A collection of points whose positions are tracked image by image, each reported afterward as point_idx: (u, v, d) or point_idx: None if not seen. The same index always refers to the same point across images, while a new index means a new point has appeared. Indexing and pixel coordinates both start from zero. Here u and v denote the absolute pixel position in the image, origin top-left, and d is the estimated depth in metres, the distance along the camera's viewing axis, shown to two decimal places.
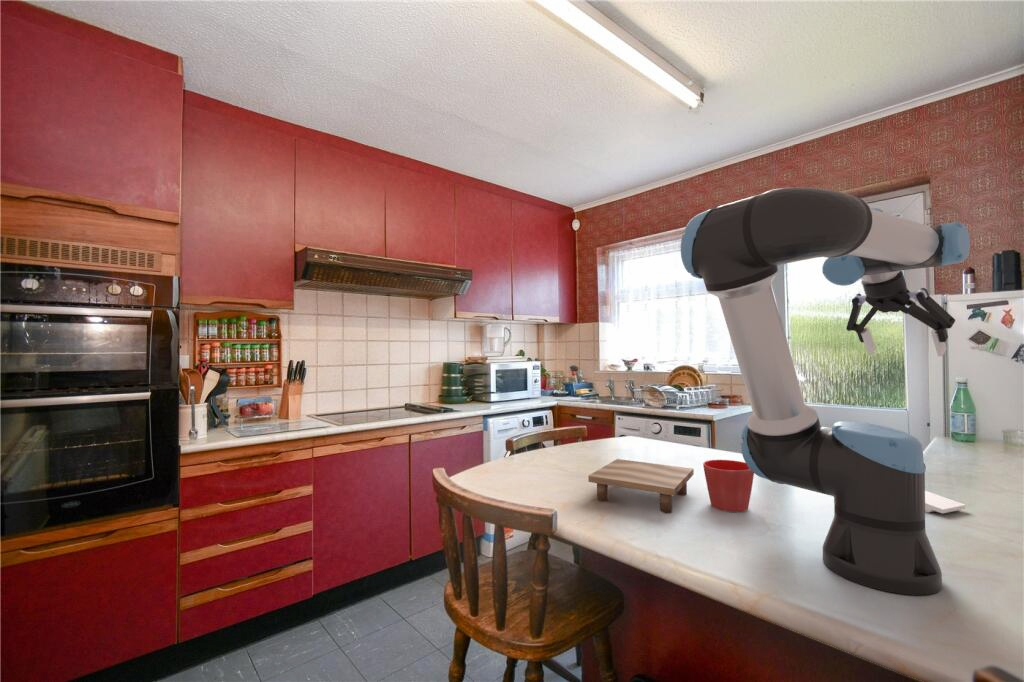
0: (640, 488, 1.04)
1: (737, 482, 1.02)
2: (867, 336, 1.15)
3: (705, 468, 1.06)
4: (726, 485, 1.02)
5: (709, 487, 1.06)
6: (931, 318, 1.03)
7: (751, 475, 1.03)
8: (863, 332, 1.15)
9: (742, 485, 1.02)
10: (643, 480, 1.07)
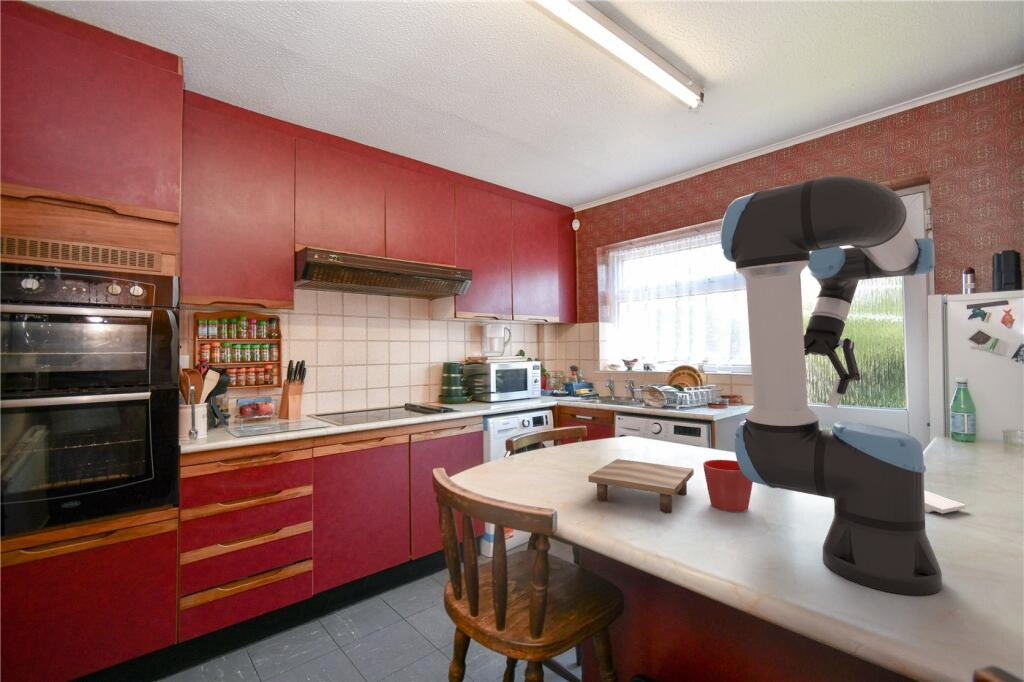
0: (640, 488, 1.04)
1: (737, 482, 1.02)
2: None
3: (705, 468, 1.06)
4: (726, 485, 1.02)
5: (709, 487, 1.06)
6: (843, 368, 1.08)
7: None
8: None
9: (742, 485, 1.02)
10: (643, 480, 1.07)
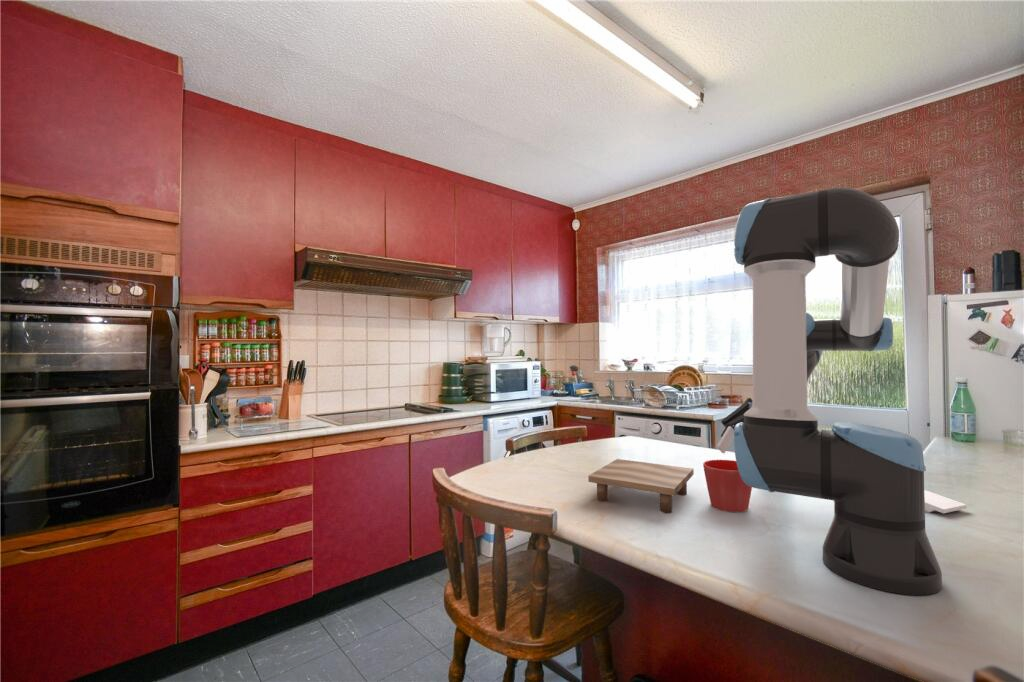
0: (640, 488, 1.04)
1: (737, 482, 1.02)
2: (730, 433, 1.18)
3: (705, 468, 1.06)
4: (726, 485, 1.02)
5: (709, 487, 1.06)
6: None
7: None
8: None
9: (742, 485, 1.02)
10: (643, 480, 1.07)
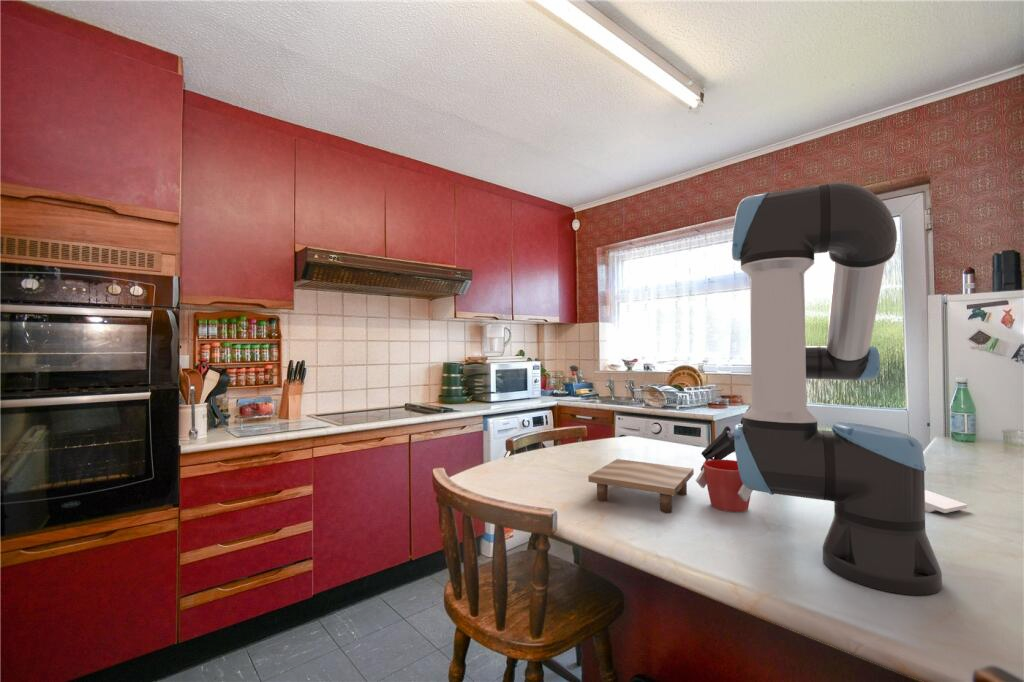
0: (640, 488, 1.04)
1: (737, 482, 1.02)
2: None
3: (705, 468, 1.06)
4: (726, 485, 1.02)
5: (709, 487, 1.06)
6: None
7: None
8: None
9: None
10: (643, 480, 1.07)
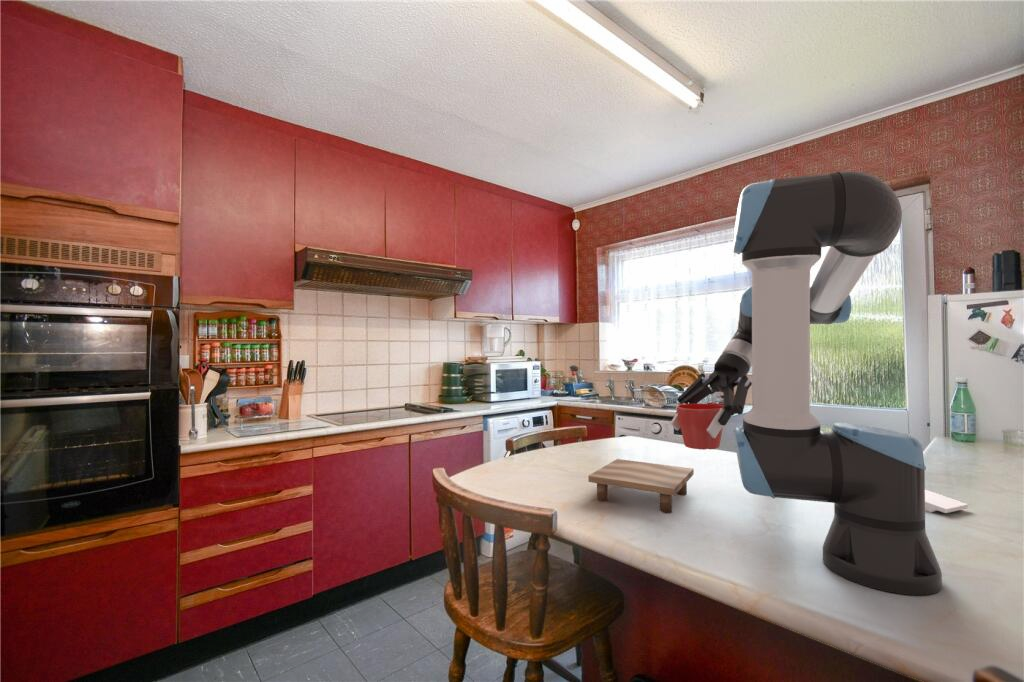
0: (640, 488, 1.04)
1: (707, 420, 1.06)
2: None
3: (678, 409, 1.11)
4: (696, 424, 1.07)
5: (682, 427, 1.11)
6: (731, 402, 1.07)
7: None
8: None
9: None
10: (643, 480, 1.07)
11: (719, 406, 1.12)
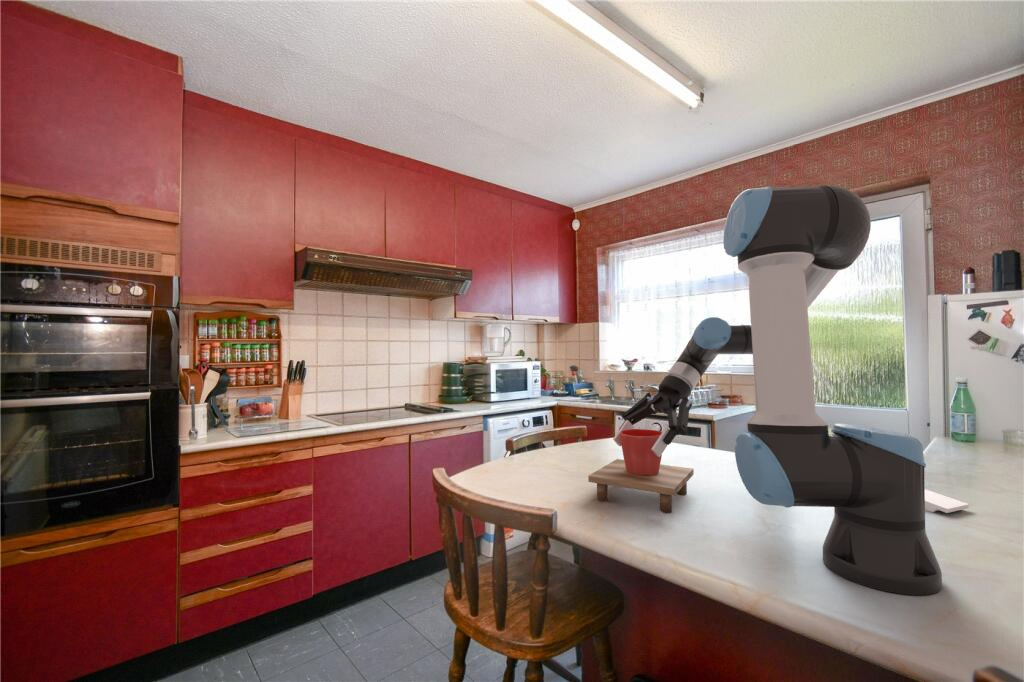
0: (640, 488, 1.04)
1: (646, 447, 1.10)
2: (627, 427, 1.21)
3: (620, 435, 1.15)
4: (636, 450, 1.10)
5: (623, 453, 1.14)
6: (675, 422, 1.10)
7: None
8: None
9: (650, 450, 1.10)
10: (643, 480, 1.07)
11: (660, 433, 1.15)
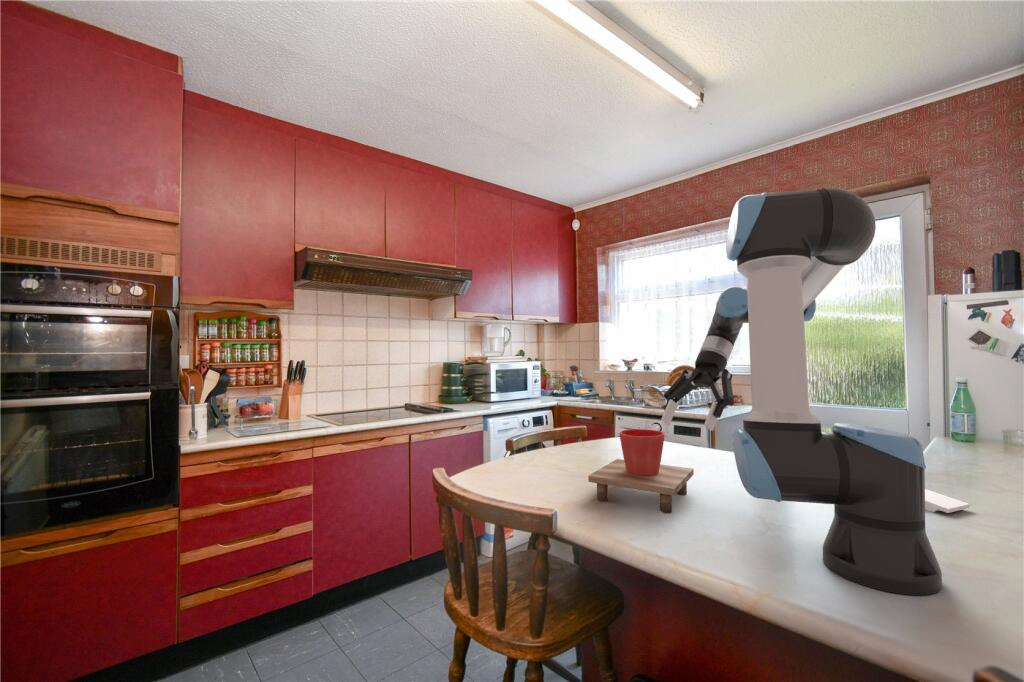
0: (640, 488, 1.04)
1: (645, 447, 1.10)
2: (671, 406, 1.26)
3: (620, 435, 1.15)
4: (636, 450, 1.10)
5: (623, 453, 1.14)
6: (720, 395, 1.16)
7: (659, 441, 1.11)
8: None
9: (650, 450, 1.10)
10: (643, 480, 1.07)
11: (660, 433, 1.15)
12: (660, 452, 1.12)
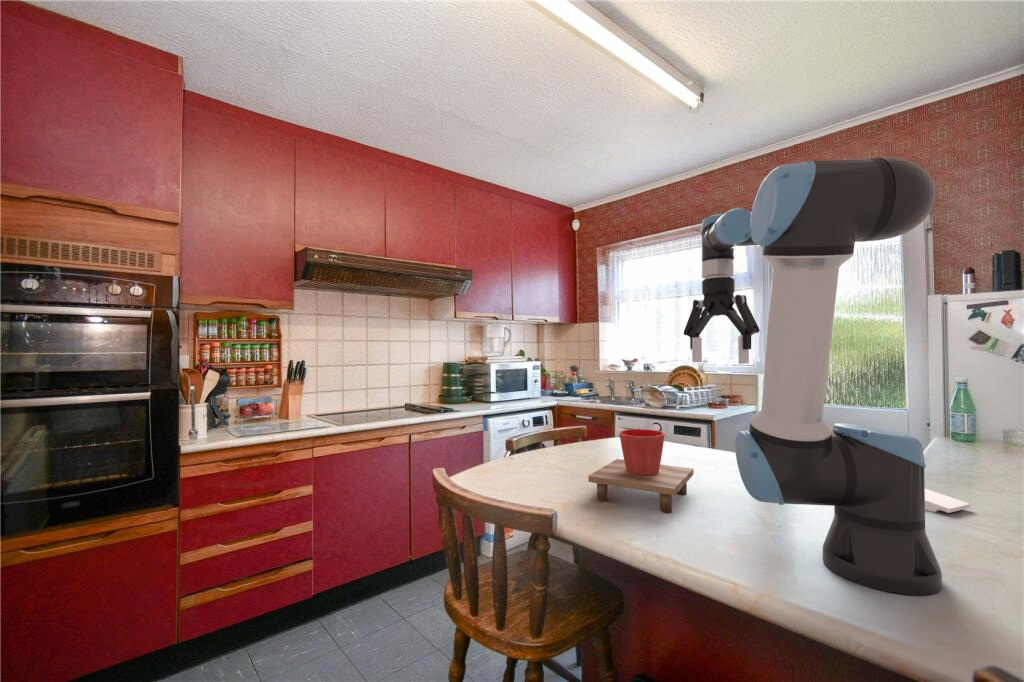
0: (640, 488, 1.04)
1: (645, 447, 1.10)
2: (697, 343, 1.22)
3: (620, 435, 1.15)
4: (636, 450, 1.10)
5: (623, 453, 1.14)
6: (742, 324, 1.10)
7: (659, 441, 1.11)
8: (694, 337, 1.22)
9: (650, 450, 1.10)
10: (643, 480, 1.07)
11: (660, 433, 1.16)
12: (660, 452, 1.12)
